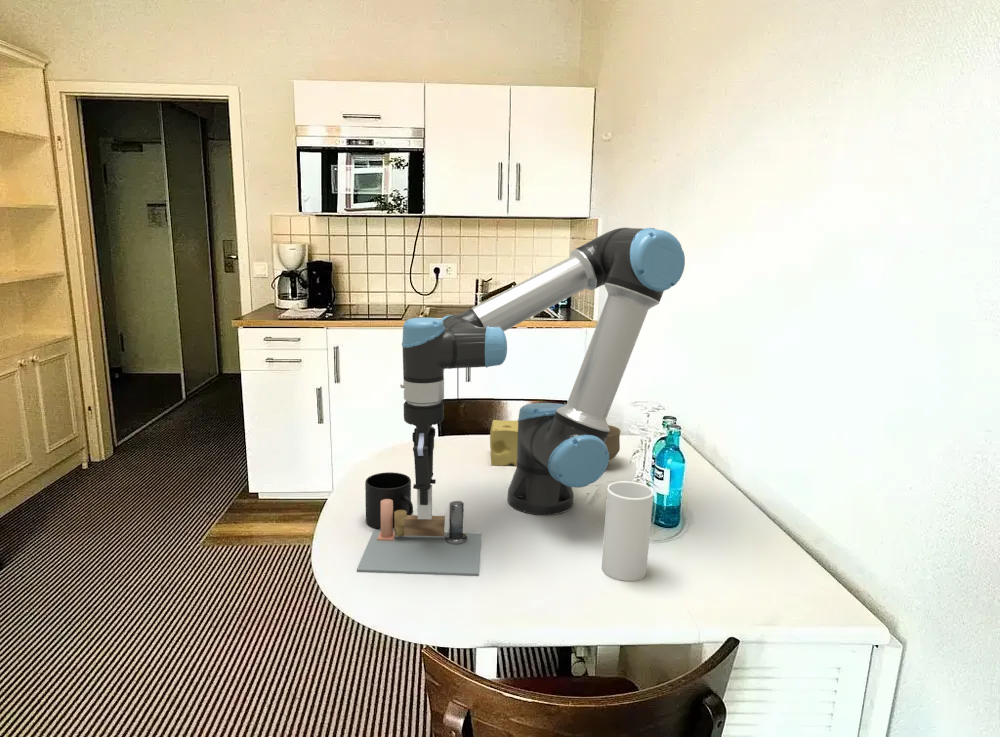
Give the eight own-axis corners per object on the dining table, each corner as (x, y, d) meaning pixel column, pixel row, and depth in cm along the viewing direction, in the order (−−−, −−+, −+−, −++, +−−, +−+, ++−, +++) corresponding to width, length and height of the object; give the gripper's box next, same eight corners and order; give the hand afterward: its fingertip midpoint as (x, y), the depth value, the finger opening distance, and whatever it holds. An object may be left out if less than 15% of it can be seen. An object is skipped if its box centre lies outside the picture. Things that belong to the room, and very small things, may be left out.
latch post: (396, 535, 134) (396, 498, 133) (393, 542, 131) (393, 505, 130) (380, 534, 134) (380, 497, 133) (377, 542, 131) (377, 504, 130)
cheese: (529, 467, 175) (531, 431, 173) (488, 466, 175) (489, 429, 173) (528, 454, 185) (529, 419, 183) (489, 452, 185) (490, 418, 183)
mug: (395, 538, 133) (395, 496, 131) (356, 520, 140) (355, 480, 138) (428, 523, 140) (429, 483, 138) (389, 507, 148) (389, 468, 146)
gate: (444, 531, 134) (445, 510, 133) (444, 536, 131) (444, 515, 130) (395, 530, 133) (395, 509, 132) (393, 536, 131) (393, 514, 130)
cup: (636, 586, 119) (644, 502, 115) (594, 572, 123) (600, 491, 119) (652, 567, 125) (659, 487, 122) (611, 554, 130) (617, 477, 126)
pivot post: (467, 536, 135) (468, 499, 133) (466, 546, 131) (467, 508, 129) (445, 535, 135) (446, 498, 133) (443, 546, 131) (444, 508, 129)
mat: (481, 535, 136) (481, 533, 136) (478, 575, 120) (478, 573, 120) (373, 531, 136) (373, 529, 136) (356, 571, 120) (356, 569, 120)
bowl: (584, 452, 187) (587, 418, 185) (626, 463, 180) (629, 427, 178) (562, 464, 177) (564, 428, 175) (605, 476, 170) (607, 439, 168)
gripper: (408, 391, 131) (410, 503, 136) (398, 410, 118) (400, 532, 123) (446, 392, 131) (447, 503, 136) (440, 410, 118) (441, 533, 123)
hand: (424, 517), depth 130 cm, fingers closed
